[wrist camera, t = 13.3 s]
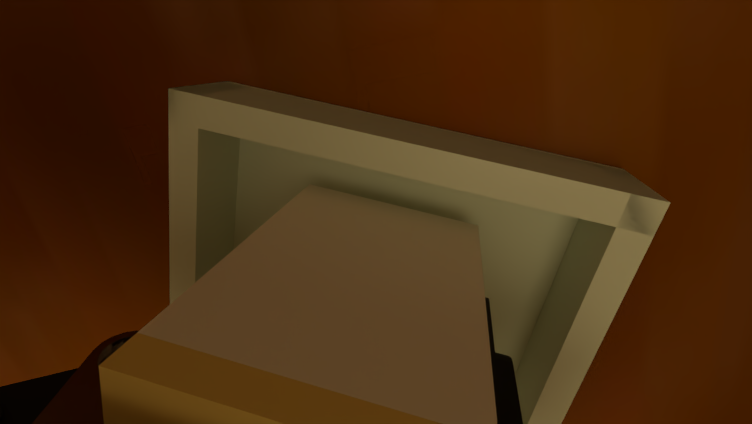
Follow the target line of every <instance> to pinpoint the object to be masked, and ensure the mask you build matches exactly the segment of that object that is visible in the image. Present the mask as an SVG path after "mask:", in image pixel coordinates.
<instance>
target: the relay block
mask: <svg viewBox="0 0 752 424" xmlns="http://www.w3.org/2000/svg"><path fill="white" fill-rule="evenodd" d="M99 376H100V386H101V397H102V408H103V419H104V424H497V414H496V404H495V394H494V384H493V373H492V363H491V353H490V342H489V332H488V322H487V311H486V301H485V291H484V280H483V270H482V260H481V250H480V239H479V229H478V225H474V224H470V223H466V222H462V221H458V220H454V219H450V218H446V217H442V216H438V215H434V214H429V213H425V212H421V211H417V210H413V209H409V208H405V207H401V206H397V205H393V204H389V203H385V202H380V201H376V200H372V199H368V198H364V197H360V196H356V195H352V194H348V193H344V192H340V191H335V190H331V189H327V188H323V187H319V186H315V185H311V184H309V185H308V186H307V187H306V188H305V189H303V190H302V191H301V192H300V193H299V194H298V195H296V196H295V197H294V198H293V199H292V200H291V201H289V202H288V203H287V204H286V205H285V206H284V207H282V208H281V209H280V210H279V211H278V212H277V213H276V214H274V215H273V216H272V217H271V218H270V219H269V220H267V221H266V222H265V223H264V224H263V225H262V226H260V227H259V228H258V229H257V230H256V231H255V232H253V233H252V234H251V235H250V236H249V237H248V238H246V239H245V240H244V241H243V242H242V243H241V244H240V245H238V246H237V247H236V248H235V249H234V250H233V251H231V252H230V253H229V254H228V255H227V256H226V257H224V258H223V259H222V260H221V261H220V262H219V263H217V264H216V265H215V266H214V267H213V268H212V269H210V270H209V271H208V272H207V273H206V274H205V275H204V276H202V277H201V278H200V279H199V280H198V281H197V282H195V283H194V284H193V285H192V286H191V287H190V288H188V289H187V290H186V291H185V292H184V293H183V294H181V295H180V296H179V297H178V298H177V299H176V300H174V301H173V302H172V303H171V304H170V305H169V306H168V307H166V308H165V309H164V310H163V311H162V312H161V313H159V314H158V315H157V316H156V317H155V318H154V319H152V320H151V321H150V322H149V323H148V324H147V325H145V326H144V327H143V328H142V329H141V330H140V331H138V332H137V333H136V334H135V335H134V336H133V337H132V338H130V339H129V340H128V341H127V342H126V343H125V344H123V345H122V346H121V347H120V348H119V349H118V350H116V351H115V352H114V353H113V354H112V355H111V356H109V357H108V358H107V359H106V360H105V361H104V362H102V363H101V364H100V365H99Z"/></svg>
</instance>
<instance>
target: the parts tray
mask: <svg viewBox="0 0 752 424" xmlns="http://www.w3.org/2000/svg"><path fill="white" fill-rule="evenodd" d="M168 123H169V262H170V304H171V303H172V302H173V301H174V300H176V299H177V298H178V297H179V296H180V295H181V294H183V293H184V292H185V291H186V290H187V289H188V288H190V287H191V286H192V285H193V284H194V283H195V282H197V281H198V280H199V279H200V278H201V277H202V276H204V275H205V274H206V273H207V272H208V271H209V270H210V269H212V268H213V267H214V266H215V265H216V264H217V263H219V262H220V261H221V260H222V259H223V258H224V257H226V256H227V255H228V254H229V253H230V252H231V251H233V250H234V249H235V248H236V247H237V246H238V245H240V244H241V243H242V242H243V241H244V240H245V239H246V238H248V237H249V236H250V235H251V234H252V233H253V232H255V231H256V230H257V229H258V228H259V227H260V226H262V225H263V224H264V223H265V222H266V221H267V220H269V219H270V218H271V217H272V216H273V215H274V214H276V213H277V212H278V211H279V210H280V209H281V208H282V207H284V206H285V205H286V204H287V203H288V202H289V201H291V200H292V199H293V198H294V197H295V196H296V195H298V194H299V193H300V192H301V191H302V190H303V189H305V188H306V187H307V186H308V185H309V184H311V185H315V186H319V187H323V188H327V189H331V190H335V191H340V192H344V193H348V194H352V195H356V196H360V197H364V198H368V199H372V200H376V201H380V202H385V203H389V204H393V205H397V206H401V207H405V208H409V209H413V210H417V211H421V212H425V213H429V214H434V215H438V216H442V217H446V218H450V219H454V220H458V221H462V222H466V223H470V224H474V225H478V229H479V239H480V250H481V260H482V270H483V280H484V291H485V297H486V298H489V302H490V311H491V320H492V329H493V338H494V347H495V352H496V353H500V354H503V355H507V356H510V357H511V358H512V361H513V366H514V372H515V378H516V384H517V390H518V396H519V402H520V408H521V414H522V421H523V424H561V423H562V421H563V419H564V417H565V415H566V413H567V411H568V409H569V407H570V405H571V403H572V401H573V399H574V397H575V395H576V393H577V391H578V389H579V387H580V385H581V383H582V381H583V379H584V377H585V375H586V373H587V370H588V368H589V366H590V364H591V362H592V360H593V358H594V356H595V354H596V352H597V350H598V348H599V346H600V344H601V342H602V340H603V338H604V336H605V334H606V332H607V330H608V328H609V326H610V324H611V322H612V320H613V318H614V316H615V314H616V312H617V310H618V308H619V306H620V304H621V302H622V300H623V298H624V296H625V294H626V292H627V290H628V288H629V285H630V283H631V281H632V279H633V277H634V275H635V273H636V271H637V269H638V267H639V265H640V263H641V261H642V259H643V257H644V255H645V253H646V251H647V249H648V247H649V245H650V243H651V241H652V239H653V237H654V235H655V233H656V231H657V229H658V227H659V225H660V223H661V221H662V219H663V217H664V215H665V213H666V211H667V209H668V207H669V205H670V202H669V201H667V200H666V199H665V198H663V197H662V196H660V195H659V194H658V193H656V192H655V191H653V190H652V189H651V188H649V187H648V186H646V185H645V184H644V183H642V182H641V181H640V180H638V179H637V178H635V177H634V176H633V175H631V174H630V173H628V172H627V171H626V170H624V169H622V168H617V167H613V166H608V165H604V164H599V163H595V162H590V161H586V160H581V159H577V158H572V157H568V156H563V155H559V154H554V153H550V152H545V151H541V150H536V149H532V148H527V147H523V146H518V145H514V144H509V143H505V142H500V141H496V140H491V139H487V138H482V137H478V136H473V135H469V134H464V133H460V132H455V131H451V130H446V129H442V128H437V127H433V126H428V125H424V124H419V123H415V122H410V121H406V120H401V119H397V118H392V117H388V116H383V115H378V114H374V113H369V112H365V111H360V110H356V109H351V108H347V107H342V106H338V105H333V104H329V103H324V102H320V101H315V100H311V99H306V98H302V97H297V96H293V95H288V94H284V93H279V92H275V91H270V90H266V89H261V88H257V87H252V86H248V85H243V84H239V83H234V82H230V81H225V82H216V83H208V84H200V85H191V86H183V87H175V88H168Z"/></svg>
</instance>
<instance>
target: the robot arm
mask: <svg viewBox="0 0 752 424" xmlns="http://www.w3.org/2000/svg"><path fill="white" fill-rule="evenodd" d="M485 301H486V311H487V322H488V332H489V342H490V353H491V363H492V373H493V384H494V394H495V404H496V414H497V424H523V421H522V414H521V408H520V402H519V396H518V390H517V384H516V378H515V372H514V366H513V361H512V358H511V357H510V356H507V355H503V354H500V353H496V352H495V347H494V338H493V329H492V320H491V311H490V302H489V298H486V297H485ZM137 332H138V331H131V332H125V333H122V334H119V335H116V336H113V337H111V338H109V339H107V340H106V341H104V342H102V343H101V344H100V345H99V346H97V347H96V348H95V349H94V350H93V351H92V352H91V354H90V355H89V356H88V357H87V358H86V360H85V361H84V362H83V363H82V364H81V366H80V367H79V368H77V369H73V370H69V371H65V372H60V373H56V374H52V375H48V376H44V377H40V378H35V379H31V380H27V381H23V382H19V383H14V384H10V385H6V386H2V387H0V424H104V419H103V408H102V397H101V386H100V376H99V365H100V364H101V363H102V362H104V361H105V360H106V359H107V358H108V357H109V356H111V355H112V354H113V353H114V352H115V351H116V350H118V349H119V348H120V347H121V346H122V345H123V344H125V343H126V342H127V341H128V340H129V339H130V338H132V337H133V336H134V335H135V334H136V333H137Z"/></svg>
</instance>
